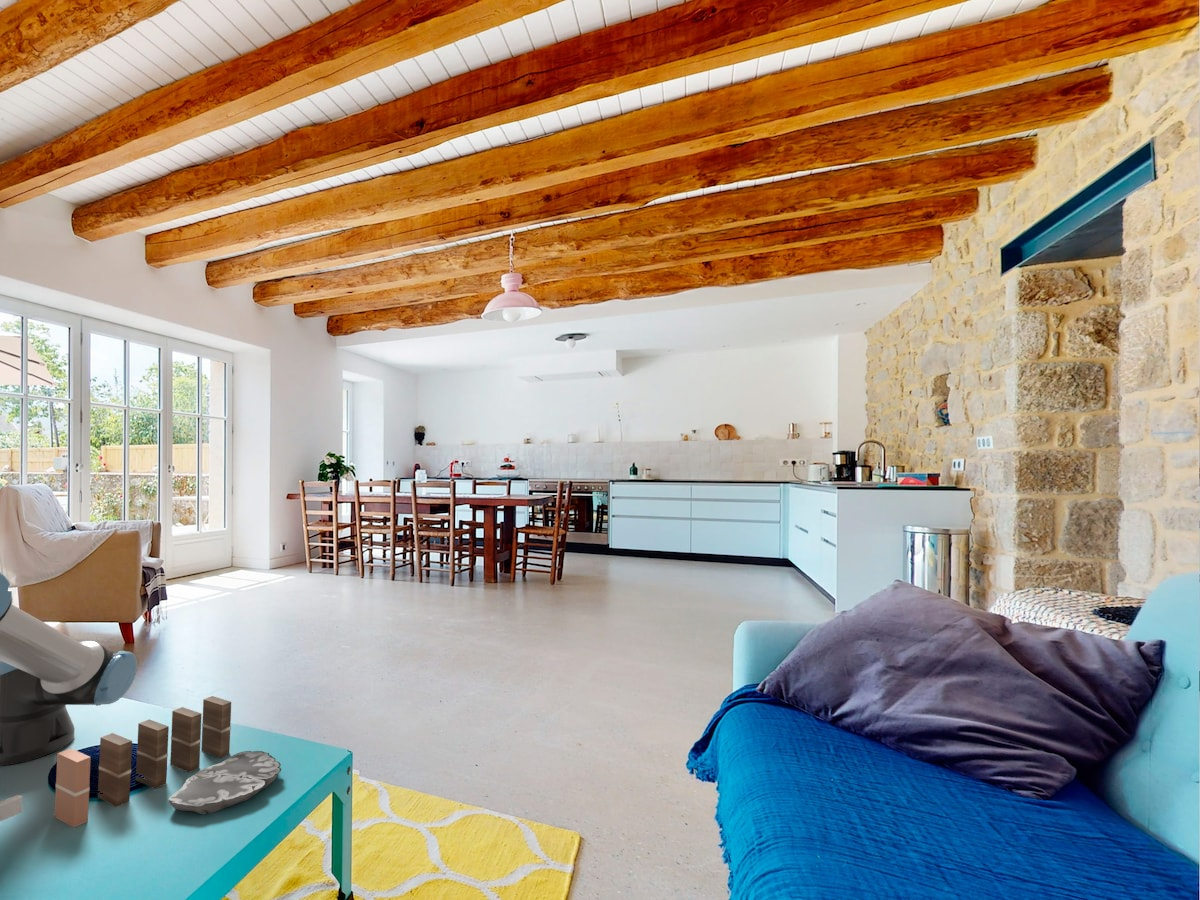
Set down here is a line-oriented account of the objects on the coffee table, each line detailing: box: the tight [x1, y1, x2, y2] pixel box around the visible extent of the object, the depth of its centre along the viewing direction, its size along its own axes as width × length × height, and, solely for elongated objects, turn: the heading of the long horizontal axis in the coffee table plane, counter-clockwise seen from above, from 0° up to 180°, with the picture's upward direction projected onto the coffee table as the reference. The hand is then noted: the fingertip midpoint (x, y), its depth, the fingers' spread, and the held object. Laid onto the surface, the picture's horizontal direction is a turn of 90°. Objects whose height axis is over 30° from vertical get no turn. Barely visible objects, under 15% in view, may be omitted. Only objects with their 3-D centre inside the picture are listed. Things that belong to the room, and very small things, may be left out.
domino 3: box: [135, 719, 170, 790], centre depth 114 cm, size 2×7×12 cm, turn 67°
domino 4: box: [169, 706, 202, 773], centre depth 120 cm, size 2×7×12 cm, turn 67°
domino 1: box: [54, 748, 91, 828], centre depth 102 cm, size 2×7×12 cm, turn 67°
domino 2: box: [97, 732, 133, 808], centre depth 108 cm, size 2×7×12 cm, turn 67°
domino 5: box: [200, 695, 232, 759], centre depth 126 cm, size 2×7×12 cm, turn 67°
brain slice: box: [168, 750, 282, 815], centre depth 112 cm, size 20×17×3 cm
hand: (19, 803), depth 96 cm, fingers closed
